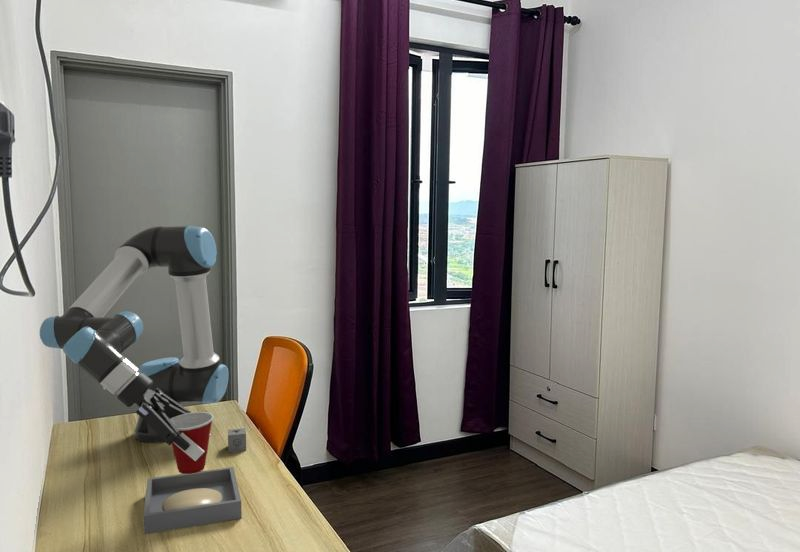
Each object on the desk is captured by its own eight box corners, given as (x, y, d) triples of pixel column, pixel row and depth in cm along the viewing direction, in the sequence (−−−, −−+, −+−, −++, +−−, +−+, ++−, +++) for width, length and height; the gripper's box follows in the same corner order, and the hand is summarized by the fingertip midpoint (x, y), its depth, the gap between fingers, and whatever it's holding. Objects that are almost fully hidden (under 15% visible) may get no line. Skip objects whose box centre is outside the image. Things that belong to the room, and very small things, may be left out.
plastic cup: (158, 468, 140) (157, 417, 139) (204, 457, 147) (203, 408, 146) (174, 483, 132) (173, 429, 131) (222, 470, 139) (221, 419, 138)
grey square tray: (148, 494, 147) (147, 478, 146) (233, 482, 154) (233, 466, 153) (144, 534, 128) (143, 516, 128) (241, 518, 135) (241, 500, 135)
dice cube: (245, 444, 180) (245, 427, 179) (246, 450, 175) (245, 433, 175) (228, 446, 178) (227, 429, 178) (228, 452, 174) (227, 435, 173)
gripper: (129, 382, 146) (199, 441, 151) (100, 411, 124) (183, 479, 128) (151, 360, 147) (220, 419, 151) (126, 384, 125) (208, 453, 129)
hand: (203, 447), depth 140 cm, fingers closed on plastic cup, 10 cm apart
